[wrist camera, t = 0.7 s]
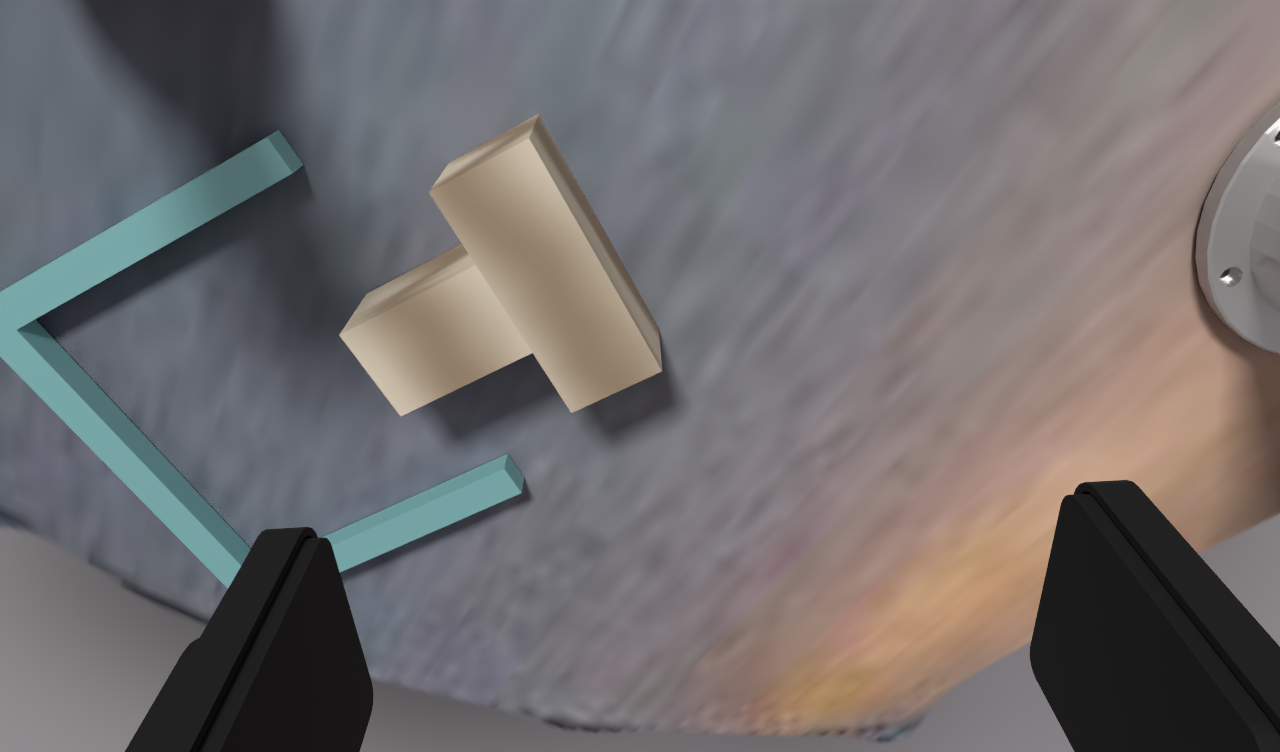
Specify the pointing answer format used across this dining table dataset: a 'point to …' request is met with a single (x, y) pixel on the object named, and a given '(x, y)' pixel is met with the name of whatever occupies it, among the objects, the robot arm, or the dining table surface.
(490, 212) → the t block
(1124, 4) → the dining table surface
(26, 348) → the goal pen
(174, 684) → the robot arm
